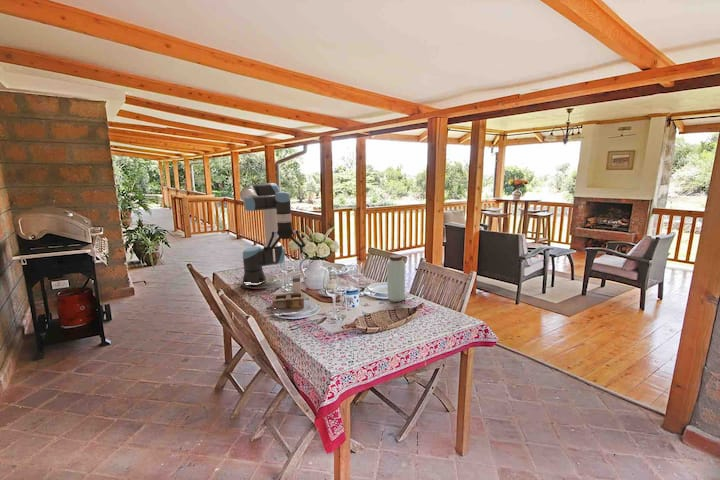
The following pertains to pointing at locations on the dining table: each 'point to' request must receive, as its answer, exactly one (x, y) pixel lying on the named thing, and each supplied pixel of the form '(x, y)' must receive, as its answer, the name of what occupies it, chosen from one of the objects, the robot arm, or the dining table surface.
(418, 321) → the dining table surface
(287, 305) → the socket block
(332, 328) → the dining table surface
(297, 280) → the plug
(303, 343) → the dining table surface
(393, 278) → the water bottle
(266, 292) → the dining table surface
